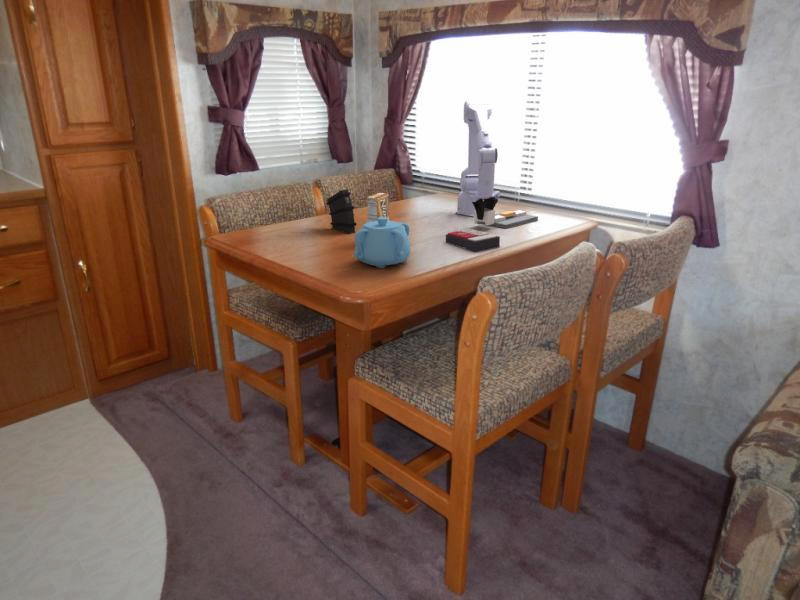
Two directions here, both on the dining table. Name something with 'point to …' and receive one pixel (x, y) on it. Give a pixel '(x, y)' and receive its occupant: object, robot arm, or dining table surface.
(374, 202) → the candy box
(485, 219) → the block
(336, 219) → the black ribbed block
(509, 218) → the rail board
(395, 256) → the decorative pot
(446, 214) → the dining table surface
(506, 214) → the block
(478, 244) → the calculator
